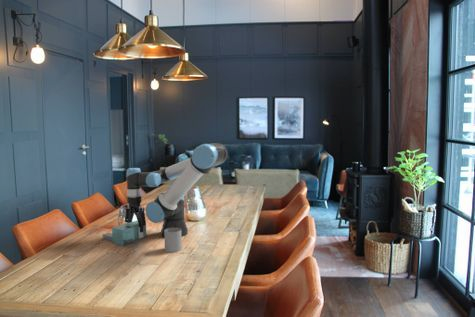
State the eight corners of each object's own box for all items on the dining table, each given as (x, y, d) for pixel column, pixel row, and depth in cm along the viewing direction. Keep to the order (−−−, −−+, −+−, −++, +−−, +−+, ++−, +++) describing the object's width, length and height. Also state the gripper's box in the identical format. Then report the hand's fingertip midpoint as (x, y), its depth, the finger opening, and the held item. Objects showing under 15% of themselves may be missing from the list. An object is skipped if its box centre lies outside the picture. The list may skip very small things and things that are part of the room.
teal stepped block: (134, 242, 212) (133, 227, 211) (123, 246, 206) (122, 230, 205) (111, 236, 224) (110, 221, 223) (100, 239, 218) (99, 224, 217)
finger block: (138, 234, 228) (137, 220, 227) (146, 236, 224) (145, 222, 223) (124, 238, 221) (123, 223, 220) (132, 240, 216) (131, 225, 216)
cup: (167, 253, 195) (167, 233, 194) (162, 248, 202) (162, 229, 201) (184, 250, 199) (183, 230, 198) (178, 246, 206) (178, 227, 205)
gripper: (152, 197, 217) (153, 237, 219) (128, 193, 230) (129, 231, 232) (141, 199, 211) (142, 241, 213) (117, 195, 224) (118, 234, 226)
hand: (135, 236), depth 223 cm, fingers open, 8 cm apart
